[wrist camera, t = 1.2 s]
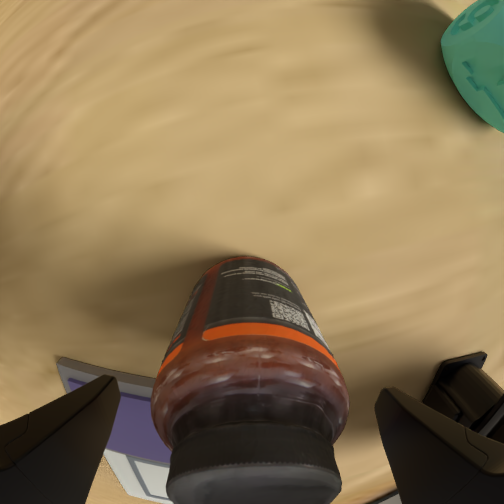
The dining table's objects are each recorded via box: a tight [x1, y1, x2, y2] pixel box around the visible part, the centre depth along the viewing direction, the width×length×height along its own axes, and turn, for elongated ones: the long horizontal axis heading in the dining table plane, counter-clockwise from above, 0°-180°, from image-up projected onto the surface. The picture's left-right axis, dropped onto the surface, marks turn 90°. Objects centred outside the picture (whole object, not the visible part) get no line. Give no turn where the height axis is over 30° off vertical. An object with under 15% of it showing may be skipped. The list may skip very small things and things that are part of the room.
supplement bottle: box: [150, 256, 350, 504], centre depth 9 cm, size 6×6×11 cm
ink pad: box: [56, 357, 172, 465], centre depth 16 cm, size 11×10×1 cm
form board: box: [103, 449, 174, 504], centre depth 19 cm, size 16×14×1 cm
